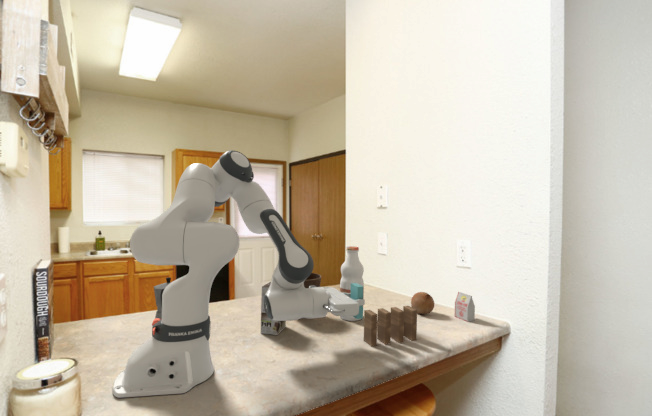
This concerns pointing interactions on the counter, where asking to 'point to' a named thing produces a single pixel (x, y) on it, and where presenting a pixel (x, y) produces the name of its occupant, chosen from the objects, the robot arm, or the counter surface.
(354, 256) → the fruit juice
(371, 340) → the domino
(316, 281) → the plant pot
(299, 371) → the counter surface
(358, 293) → the teal domino tile
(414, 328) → the domino
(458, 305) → the tea bag
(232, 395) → the counter surface
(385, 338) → the domino
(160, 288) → the coffeepot
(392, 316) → the domino
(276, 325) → the coffee box
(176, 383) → the robot arm
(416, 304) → the onion
